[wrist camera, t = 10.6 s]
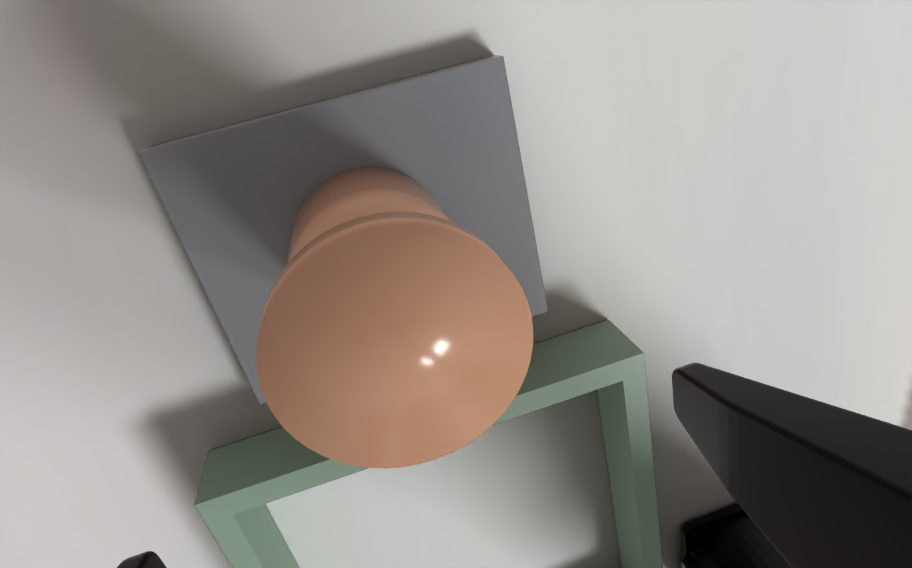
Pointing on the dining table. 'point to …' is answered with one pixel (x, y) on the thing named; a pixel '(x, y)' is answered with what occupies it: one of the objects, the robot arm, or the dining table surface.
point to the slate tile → (334, 151)
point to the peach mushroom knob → (389, 326)
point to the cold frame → (546, 383)
